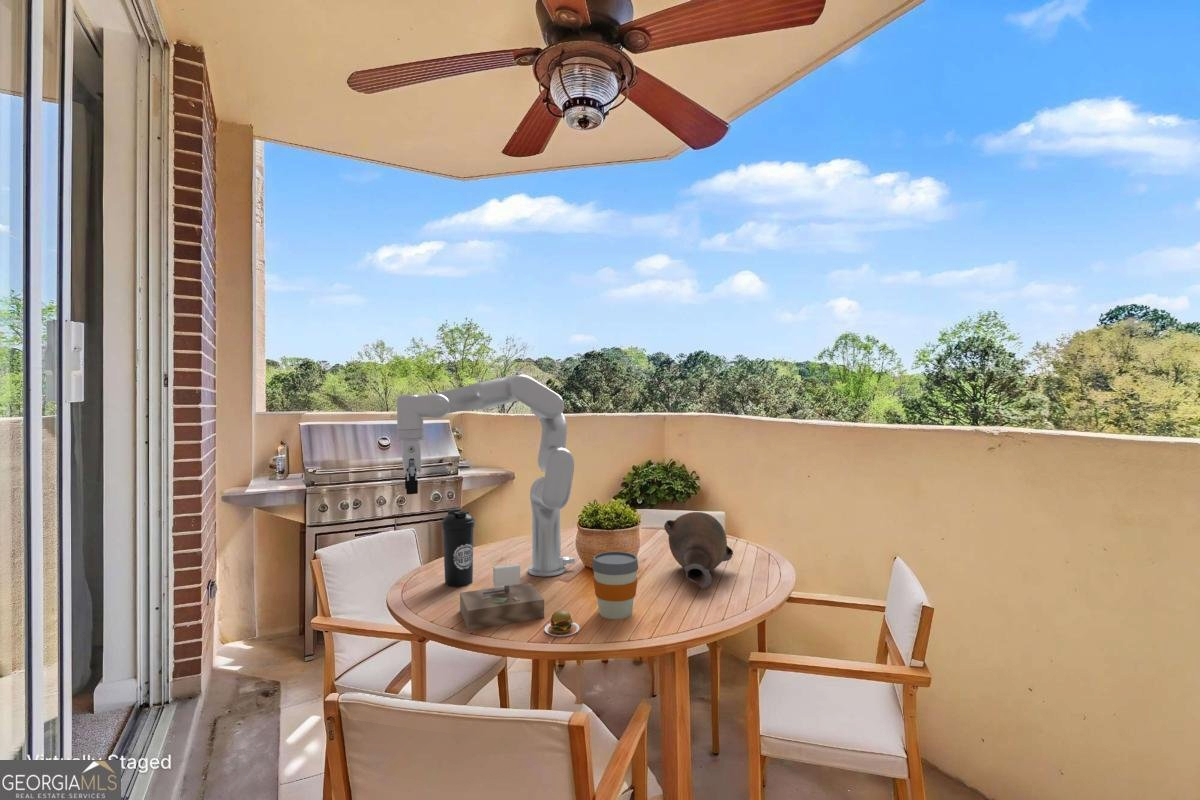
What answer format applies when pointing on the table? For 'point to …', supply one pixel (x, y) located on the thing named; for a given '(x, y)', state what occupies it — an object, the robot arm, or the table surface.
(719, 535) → the jug
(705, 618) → the table surface
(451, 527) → the water bottle
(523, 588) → the brown slab
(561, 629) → the hamburger
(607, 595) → the reusable coffee cup
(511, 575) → the peg
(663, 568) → the table surface
